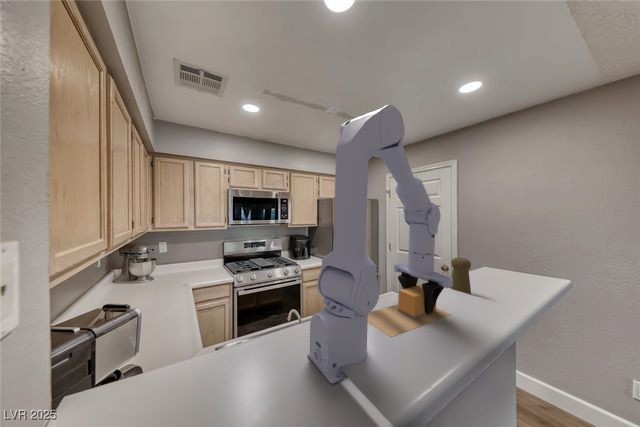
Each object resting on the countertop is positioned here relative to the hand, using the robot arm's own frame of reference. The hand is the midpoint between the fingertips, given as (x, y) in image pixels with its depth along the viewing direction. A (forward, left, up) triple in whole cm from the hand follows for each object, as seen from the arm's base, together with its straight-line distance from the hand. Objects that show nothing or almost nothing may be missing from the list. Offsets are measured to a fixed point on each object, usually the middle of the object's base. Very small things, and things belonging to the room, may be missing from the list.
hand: (419, 308), depth 56 cm
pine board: (-5, 0, -2) cm, 5 cm away
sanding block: (-1, 0, 0) cm, 1 cm away
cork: (+25, +4, -2) cm, 25 cm away
